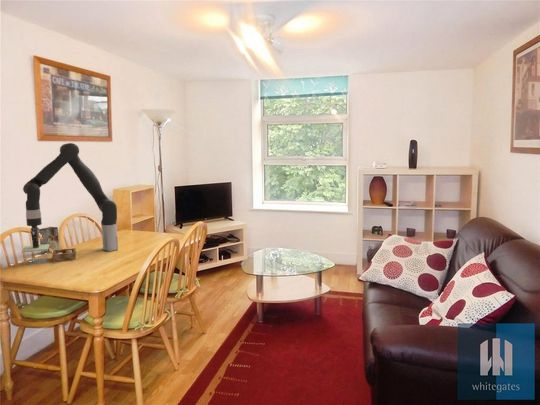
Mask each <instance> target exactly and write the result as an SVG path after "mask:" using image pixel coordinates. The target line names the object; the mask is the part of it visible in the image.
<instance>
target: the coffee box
mask: <svg viewBox="0 0 540 405" xmlns="http://www.w3.org/2000/svg"><path fill="white" fill-rule="evenodd" d="M39 233H40V234H41V235H42V238H43V241H42V240H41V239H40V238H39V245H44V244H50V246H49V248H51V249H52V250H53V251H54V250H61V249H60V240H59V229H58V227H57V226H47V227H43V228H39ZM40 253H42V254H51V253H50V251H49V249H48V250H47V251H40Z"/></svg>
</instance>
